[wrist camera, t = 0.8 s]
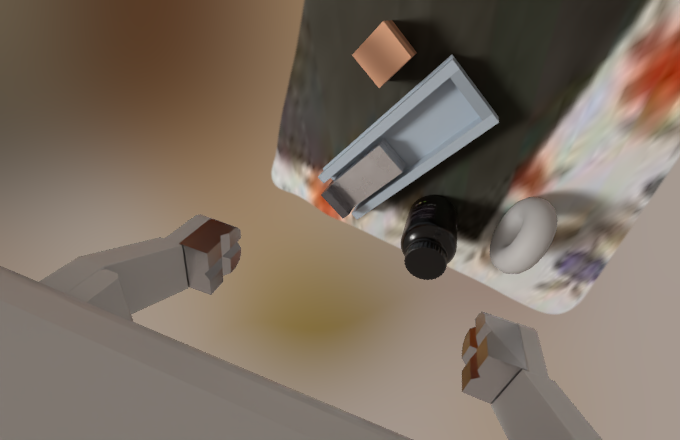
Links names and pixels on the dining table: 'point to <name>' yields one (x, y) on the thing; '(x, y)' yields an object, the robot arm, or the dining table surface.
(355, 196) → the grey block
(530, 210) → the donut
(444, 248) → the supplement bottle
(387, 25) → the block
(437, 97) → the channel
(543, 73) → the dining table surface
